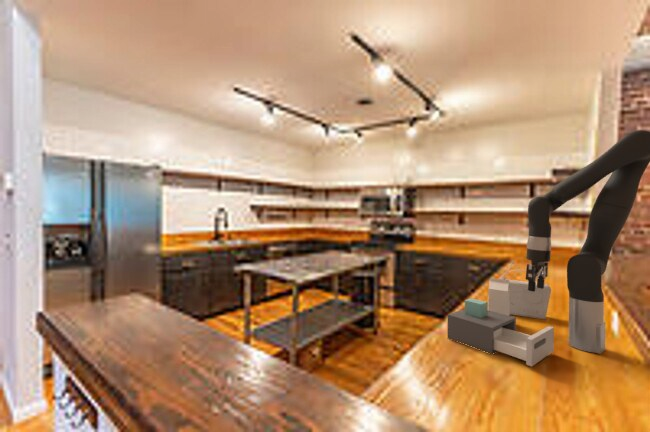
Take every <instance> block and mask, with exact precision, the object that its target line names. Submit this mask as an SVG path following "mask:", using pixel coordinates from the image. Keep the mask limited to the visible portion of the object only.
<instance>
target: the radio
mask: <svg viewBox="0 0 650 432" xmlns="http://www.w3.org/2000/svg"><path fill="white" fill-rule="evenodd" d="M514 263H515V262H514V261H511V262H510V265H509V267H508V268H507V269H506V271H505V272H504V273H503V274H502V275H501V276H500V277H499V278H498V279H503V280H507V278H506V277H505V276H506V275H507V274H508V273H512V272H514V271H520V269H513V270H510V269H511V267H512V266H513V264H514ZM509 270H510V271H509ZM521 271H522V272H525V269H524V270H523V269H521ZM508 280H509V287H510V300H509V316H516V317H524V318H532V319H538V320H539V319H540V320H545V319H547V313H548V308H549V303H550V298H551V294H552V287H551V286H550V285H549V284H547V283H545V282H544V288H543V289H541V288H537V282H536V288H535V291H534V292H532V291H529V290H528V281H524V280H515V279H512V280H511V279H508Z"/></svg>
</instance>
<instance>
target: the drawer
mask: <svg viewBox="0 0 650 432" xmlns="http://www.w3.org/2000/svg"><path fill="white" fill-rule="evenodd" d="M554 331H555V328H554V327H553V326H550V325H548V326H546V327H545V328H543V329H541V330H539V331H537V332H535V333H533V334H531V335H530V334H527V333H523V332H521V331H517V330H516V331H514V330H511V329H507V328H504V327H499V328H497V329H495V330H494V350H497V351H498V352H500V353H502V354H505V355H508V356H512V357H514V358H517V359H520V360H522V361H525V365H527V366H529V367H533V366H535V365H536V364H537V363H539V362H541V361H542V360H543V359H546V357H548V356H549V355H550V354H552V353H553V352H554V350H555V349H554V347H555V346H554V344H555V342H554V341H555V340H554V338H555V336H554V335H555V334H554V333H555V332H554Z"/></svg>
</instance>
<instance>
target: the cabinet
mask: <svg viewBox="0 0 650 432" xmlns="http://www.w3.org/2000/svg"><path fill="white" fill-rule="evenodd" d="M516 317H517V316H516ZM516 317H515V316H513V315H509V316H508V315H504V314H500V313H496V312H492V311H488V316H485V317H482V318H479V317H475V316H472V315H468V314H465V308H464V309H460V310H458V311H454V312H452V313H448V314H447V339H448V338H450V339H452V340H451V341H453V340H455V341H454V342H456V341H458V342H461V343H464V344H467V345H469V346H472V347H475V348H477V349H480V350H482V351H485V352H488V353H490V354H489V355H491V354H493V353H494V354H496V353H498V352H497V350H494V330H495V329H497V328H499V327H504V328H507V329H511V330H514V331H517V318H516ZM450 339H449V340H450ZM458 342H457V343H458ZM461 343H460V344H461ZM464 344H463V345H464ZM469 346H468V347H469ZM472 347H471V348H472ZM477 349H476V350H477ZM480 350H479V351H480ZM482 351H481V352H482ZM485 352H484V353H485ZM495 352H496V353H495ZM488 353H487V354H488ZM494 354H493V355H494Z"/></svg>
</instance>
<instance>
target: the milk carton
mask: <svg viewBox="0 0 650 432" xmlns="http://www.w3.org/2000/svg"><path fill="white" fill-rule="evenodd" d="M509 280H510V279H506V280H503V279H502V278H500V279H499V278H493V277H490V278H489V283H488V311H492V312H496V313H500V314H504V315H508V316H510V315H509V300H510V287H509Z"/></svg>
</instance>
